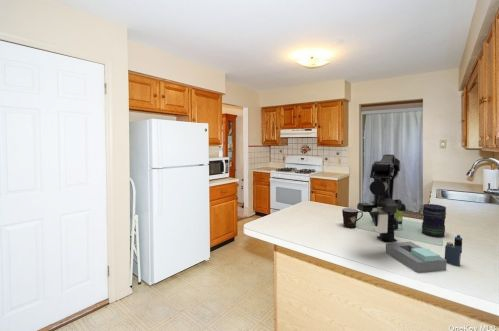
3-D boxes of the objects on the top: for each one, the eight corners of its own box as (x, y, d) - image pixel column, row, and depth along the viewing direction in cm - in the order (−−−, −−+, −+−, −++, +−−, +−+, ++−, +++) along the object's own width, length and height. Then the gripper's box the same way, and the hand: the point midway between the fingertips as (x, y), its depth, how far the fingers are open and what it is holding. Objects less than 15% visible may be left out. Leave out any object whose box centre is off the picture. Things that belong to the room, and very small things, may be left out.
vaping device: (459, 267, 98) (461, 237, 97) (443, 262, 102) (445, 233, 101) (461, 265, 99) (463, 235, 98) (445, 260, 104) (447, 231, 102)
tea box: (402, 230, 138) (403, 204, 137) (384, 230, 138) (385, 204, 137) (388, 221, 153) (389, 197, 152) (371, 222, 153) (372, 198, 152)
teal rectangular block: (410, 253, 101) (411, 248, 101) (424, 252, 102) (424, 247, 102) (425, 261, 94) (425, 256, 94) (439, 260, 95) (439, 255, 95)
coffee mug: (342, 228, 143) (342, 211, 142) (341, 223, 151) (341, 207, 150) (364, 230, 139) (364, 212, 138) (362, 225, 148) (362, 208, 147)
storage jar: (449, 238, 126) (450, 209, 125) (427, 237, 128) (428, 208, 127) (438, 231, 136) (439, 204, 134) (418, 230, 138) (419, 203, 136)
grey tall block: (379, 233, 108) (379, 213, 107) (373, 229, 112) (374, 210, 111) (387, 232, 108) (387, 213, 107) (381, 229, 112) (382, 210, 111)
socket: (385, 252, 112) (385, 243, 112) (409, 250, 114) (410, 241, 113) (417, 272, 94) (418, 262, 94) (446, 270, 96) (446, 260, 95)
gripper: (370, 195, 100) (369, 233, 101) (415, 194, 101) (414, 231, 102) (356, 190, 111) (356, 224, 112) (397, 188, 112) (396, 223, 113)
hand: (380, 226), depth 110 cm, fingers closed on grey tall block, 4 cm apart
